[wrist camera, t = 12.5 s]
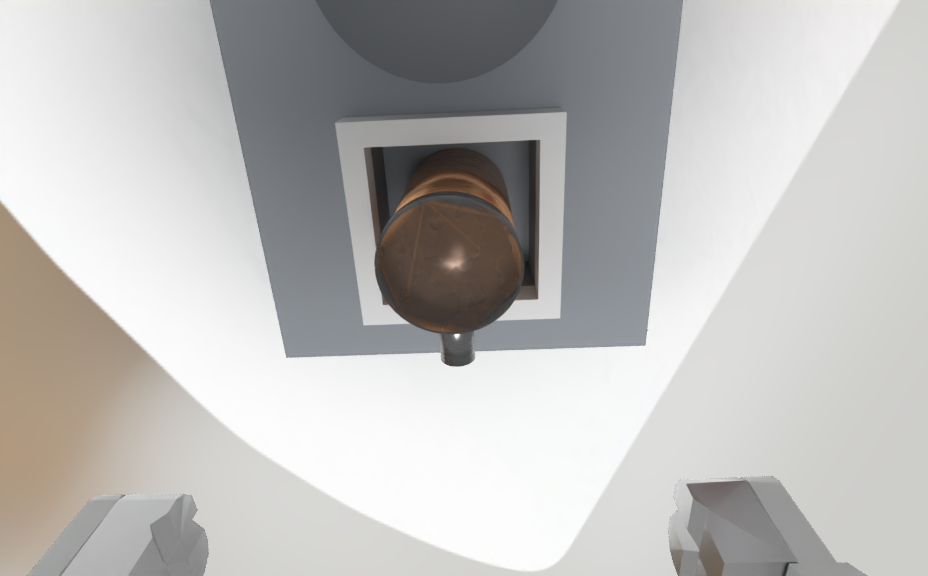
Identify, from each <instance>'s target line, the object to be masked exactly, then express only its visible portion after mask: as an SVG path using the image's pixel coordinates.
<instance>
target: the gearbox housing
mask: <svg viewBox="0 0 928 576" xmlns="http://www.w3.org/2000/svg"><path fill="white" fill-rule="evenodd" d="M210 3H211V8H212V12H213V17H214V22H215V26H216V31H217V36H218V40H219V45H220V50H221V54H222V59H223V64H224V68H225V73H226V78H227V82H228V87H229V92H230V96H231V101H232V106H233V110H234V115H235V120H236V124H237V129H238V134H239V138H240V143H241V148H242V152H243V157H244V162H245V166H246V171H247V176H248V180H249V185H250V190H251V194H252V199H253V204H254V208H255V213H256V218H257V222H258V227H259V232H260V236H261V241H262V246H263V250H264V255H265V260H266V264H267V269H268V274H269V278H270V283H271V288H272V292H273V297H274V302H275V306H276V311H277V316H278V320H279V325H280V330H281V334H282V339H283V344H284V348H285V353H286V358H288V357H318V356H347V355H377V354H407V353H436V352H441V350H440V337H439V333H433V332H429V331H426V330H423V329H421V328H418V327H416V326H414V325H412V324H410V323H408V322H407V321H406V320H404V319H403V318H401V317H400V316H399V315H398V314H397V313H396V312H395V311H394V310H393V309H392V308H391V307H390V306H389V305H388V303H387V302H386V300H385V299H384V297H383V295H382V293H381V291H380V289H379V286H378V283H377V280H376V275H375V266H374V261H375V252H376V248H377V244H378V241H379V239H380V236H381V234H382V232H383V230H384V228H385V226H386V225H387V223H388V222H389V220H390V219H391V218H392V216H393V215H394V213H395V211H396V209H397V207H398V204H399V202H400V200H401V198H402V196H403V194H404V191H405V189H406V187H407V185H408V183H409V181H410V178H411V176H412V174H413V173H414V171H415V169H416V168H417V167H418V165H419V164H420V163H421V162H422V161H423V160H424V159H426V158H427V157H428V156H430V155H431V154H433V153H435V152H438V151H440V150H443V149H447V148H466V149H470V150H474V151H476V152H479V153H481V154H483V155H484V156H486V157H487V158H488V159H490V160H491V161H492V162H493V163H494V164H495V165H496V166H497V168H498V169H499V170H500V172H501V174H502V176H503V177H504V180H505V183H506V187H507V191H508V196H509V201H510V206H511V211H512V216H513V221H514V226H515V230H516V232H517V234H518V237H519V239H520V242H521V247H522V251H523V256H524V277H523V282H522V285H521V288H520V291H519V293H518V295H517V297H516V299H515V301H514V302H513V304H512V305H511V306H510V308H509V309H508V310H507V311H506V312H505V313H504V314H503V315H502V316H501V317H500V318H498V319H497V320H496V321H494V322H493V323H491V324H489V325H488V326H485V327H483V328H481V329H478V330H475V331H474V345H475V351H496V350H525V349H555V348H585V347H614V346H644V345H645V344H646V335H647V325H648V316H649V307H650V298H651V289H652V280H653V270H654V261H655V252H656V243H657V234H658V224H659V215H660V206H661V197H662V188H663V178H664V169H665V160H666V151H667V142H668V133H669V123H670V114H671V105H672V96H673V87H674V77H675V68H676V59H677V50H678V41H679V31H680V22H681V13H682V4H683V0H210Z"/></svg>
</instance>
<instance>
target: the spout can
mask: <svg viewBox="0 0 928 576" xmlns="http://www.w3.org/2000/svg"><path fill="white" fill-rule="evenodd" d="M374 266H375V275H376V280H377V283H378V286H379V289H380V291H381V293H382V295H383V297H384V299H385V300H386V302H387V303H388V305H389V306H390V307H391V308H392V309H393V310H394V311H395V312H396V313H397V314H398V315H399V316H400V317H401V318H403V319H404V320H406V321H407V322H408V323H410V324H412V325H414V326H416V327H418V328H421V329H423V330H426V331H429V332H433V333H439V337H440V350H441V360H442V362H443V363H445V364H447V365H449V366H464V365H467V364H470V363H471V362H472V361H473V360H474V359H475V345H474V331H475V330H478V329H481V328H483V327H485V326H488V325H489V324H491V323H493V322H494V321H496V320H497V319H498V318H500V317H501V316H502V315H503V314H504V313H505V312H506V311H507V310H508V309H509V308H510V306H511V305H512V304H513V302H514V301H515V299H516V297H517V295H518V293H519V291H520V288H521V285H522V282H523V277H524V256H523V251H522V247H521V242H520V239H519V237H518V234H517V232H516V230H515V226H514V221H513V216H512V211H511V206H510V201H509V196H508V191H507V187H506V183H505V180H504V177H503V176H502V174H501V172H500V170H499V169H498V168H497V166H496V165H495V164H494V163H493V162H492V161H491V160H490V159H488V158H487V157H486V156H484V155H483V154H481V153H479V152H476V151H474V150H470V149H466V148H447V149H443V150H440V151H438V152H435V153H433V154H431V155H430V156H428V157H427V158H426V159H424V160H423V161H422V162H421V163H420V164H419V165H418V167H417V168H416V169H415V171H414V173H413V174H412V176H411V178H410V181H409V183H408V185H407V187H406V189H405V191H404V194H403V196H402V198H401V200H400V202H399V204H398V207H397V209H396V211H395V213H394V215H393V216H392V218H391V219H390V220H389V222H388V223H387V225H386V226H385V228H384V230H383V232H382V234H381V236H380V239H379V241H378V244H377V248H376V252H375V261H374Z"/></svg>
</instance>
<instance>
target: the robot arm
mask: <svg viewBox="0 0 928 576" xmlns="http://www.w3.org/2000/svg"><path fill="white" fill-rule="evenodd" d="M673 498H674V500H675V503H676V505H677V507H678V510H677V511H676V512H675V513H674V514H673V515H672V516H671V517H670V522H669V531H668V534H669V545H670V552H671V556H672V560H673V563H674V566H675V569H676V571H677V574H678V576H867V575H866V574H864V573H862V572H861V571H859V570H858V569H856V568H855V567H853V566H852V565H850V564H849V563H837V562H836V560H835V559H834V558H833V556H832V555H831V553H830V552H829V551H828V549H827V548H826V546H825V545H824V543H823V542H822V541H821V539H820V538H819V536H818V535H817V534H816V532H815V531H814V529H813V528H812V526H811V525H810V524H809V522H808V521H807V519H806V518H805V516H804V515H803V514H802V512H801V511H800V509H799V508H798V507H797V505H796V504H795V502H794V501H793V500H792V498H791V497H790V495H789V494H788V493H787V491H786V490H785V488H784V487H783V485H782V484H781V482H780V481H779V480H777V479H776V478H774V477H773V476H764V477H763V476H762V477H741V478H710V479H683V480H679V481H678V482H677V484H676V486H675V491H674V496H673ZM196 512H197V507H196V505H195V502H194V500H193V498H192V496H191V495H186V494H127V495H98V496H96V497H94V498H92V499H90V500H89V501H88V502H87V503H86V504H85V505H84V507H83V508H82V509H81V510H80V512H79V513H78V514H77V515H76V516H75V518H74V519H73V520H72V521H71V522H70V524H69V525H68V526H67V527H66V528H65V530H64V531H63V532H62V533H61V535H60V536H59V537H58V538H57V539H56V541H55V542H54V543H53V544H52V546H51V547H50V548H49V549H48V550H47V552H46V553H45V554H44V555H43V557H42V558H41V559H40V560H39V561H38V563H37V564H36V565H35V566H34V567H33V569H32V570H31V571H30V573H29V574H28V575H27V576H203V574H204V572H205V568H206V563H207V558H208V554H209V553H208V539H207V536H206V533H205V530H204V529H203V528H202V527H201V526H200V525H198V524H197V523H196V522H194V521H193V520H192V519H193V517H194V516H195V514H196Z"/></svg>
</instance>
